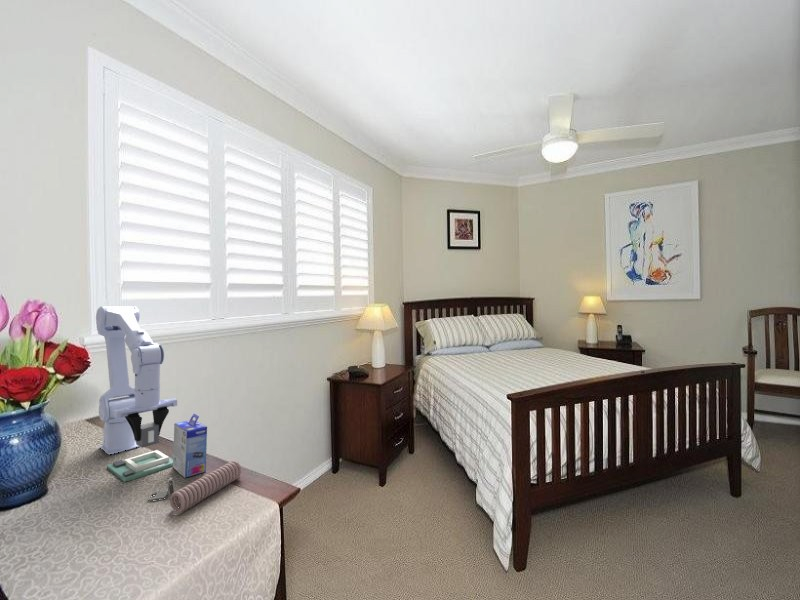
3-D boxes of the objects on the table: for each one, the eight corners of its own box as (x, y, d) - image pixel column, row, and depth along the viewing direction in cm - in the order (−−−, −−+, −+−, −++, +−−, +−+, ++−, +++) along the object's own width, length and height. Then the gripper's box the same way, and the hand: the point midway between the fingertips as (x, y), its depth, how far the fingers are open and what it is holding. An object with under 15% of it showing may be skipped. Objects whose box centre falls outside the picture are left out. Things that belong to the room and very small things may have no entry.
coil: (182, 497, 76) (245, 461, 93) (166, 491, 78) (231, 457, 95) (180, 519, 76) (243, 479, 93) (164, 512, 78) (229, 474, 95)
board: (106, 468, 98) (107, 460, 98) (156, 453, 108) (156, 446, 108) (124, 482, 90) (124, 474, 90) (176, 464, 100) (176, 457, 100)
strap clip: (146, 504, 81) (146, 485, 81) (150, 497, 84) (150, 479, 84) (189, 496, 85) (189, 478, 85) (191, 490, 87) (191, 473, 87)
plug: (136, 444, 99) (136, 426, 99) (152, 439, 102) (152, 422, 102) (142, 448, 96) (143, 429, 96) (159, 443, 100) (159, 425, 100)
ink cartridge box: (207, 471, 96) (208, 417, 96) (185, 479, 92) (185, 422, 92) (193, 460, 103) (194, 410, 103) (172, 467, 99) (172, 414, 99)
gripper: (121, 396, 91) (120, 449, 91) (182, 385, 103) (181, 432, 103) (111, 392, 96) (111, 443, 95) (171, 382, 107) (171, 427, 107)
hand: (147, 437), depth 100 cm, fingers closed on plug, 4 cm apart
